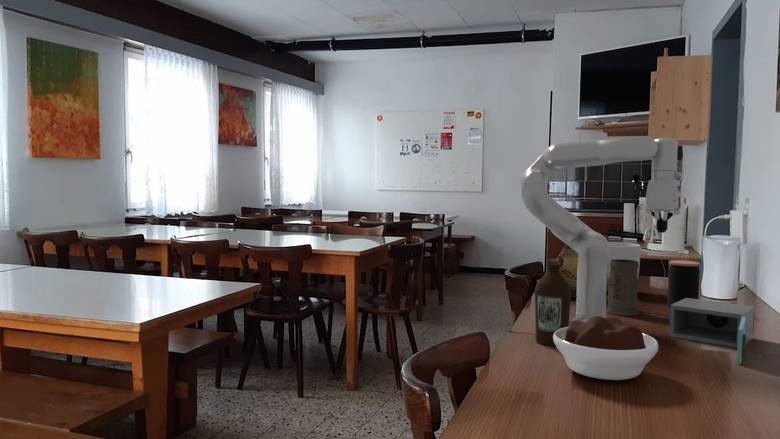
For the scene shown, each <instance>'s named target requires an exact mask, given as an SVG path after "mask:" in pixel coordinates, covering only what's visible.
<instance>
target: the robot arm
mask: <svg viewBox="0 0 780 439" xmlns="http://www.w3.org/2000/svg"><path fill="white" fill-rule="evenodd" d="M678 147H679V142H678V140H677V138H673V137H659V138H655V139H654V138H653V137H650V136H644V135H643V136H635V137H634V136H633V137H623V138H612V139H591V140H582V141H569V142H561V143H560V142H559V143H558V142H557V143H554V144H551V145H550V146H548V147H547V148H546V149H545V150H544V151H543V152H542V154H540V156H539V157H538V158H537V159H536V160H535V161H534V162H533V163H532V164H531V165H530V166H529V167H528V168H527V170H525V171H524V172H523V174H522V175H521V178H520V185H521V192H520V193H521V194H520V195H521V199H522V202H523V204H524V206H525V209H526V210H527V211H528V212H529V213H530V214H531V216H533V217H534V218H536V220H538V221H539V222H540V223H541V224H542V225H544V226H545V227H546V228H547V229H548V230H550V231H551V233H552V234H553V235H554V236H555V237H556V238H558V239H559V240H560V241H562V242H563V243H564V244H565V245H566V244H567V245H568V246H569V247H571V248H572V249H573V250H575V251H576V252H577V253H578V254H579V256H578V267H577V297H576V298H575V299H576V304H575V305H576V308H575V317H574V318H573V319H571V320H570V321H574V320H579V321H582V322H588V321H589V320H590V319H591V318H592V317H594V316H602V317H605V318H607V317H606V316H607V293H608V292H607V267H608V258H609V244H608V242H609V241H608V240H607V238H606V237H605V236H604V235H602V233H600V232H597V231H595V230H593V229H592V228H591V227H589V226H588V225H587V224H586V223H585V222H583V221H581V219H579V217H578V216H577V215H576V214H574V213H572V212H570V211H569V210H567V209H566V208H565V207H564V206H563V205H561V204H560V203H558V201H556V200H555V199H553V197H551V196H550V194H549V193H548V190H547V189H548V187H547V186H548V184H549V182H551V180H552V179H554V177H555V176H556V175H557V174H558V173H559V172H560V171H561V170H562V169H563V170H564V169H571V168H572V169H574V168H585V167H597V166H606V165H610V164H614V163H615V164H616V163H624V162H634V161H636V162H640V161H641V162H642V161H649V160H651V178H650V180H648V184H647V187H646V188H647V189H646V192H645V194H646V195H645V211H644V213H645V214H647V215H651V216H652V217H653V218H654V219H655V221H656V223H655V224H656V226H655V227H656V229H655V230H657V233H660V234H661V233H662V234H663V233H666V232H667V231H668V225H669V224H668V223H669V222H668V221H669V220H670V219H672V217H673V216H679V215H681V208H682V191H681V190H682V189H681V183H680V180H677V179H678V178H680V177H682V172H678V149H679V148H678ZM662 212H663V215H662Z"/></svg>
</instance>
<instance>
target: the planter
mask: <svg viewBox="0 0 780 439" xmlns="http://www.w3.org/2000/svg"><path fill="white" fill-rule="evenodd" d="M608 244H609V258H608V267H607V293H608V289H609V276H610V261H611V260H618V259H621V260H634V261H638V265H639V268H638V273H637V281H639V280H638V279H639V275H640V263H641V245H640V244H638V243H632V242H619V241H608Z"/></svg>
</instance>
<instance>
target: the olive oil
mask: <svg viewBox="0 0 780 439" xmlns="http://www.w3.org/2000/svg"><path fill="white" fill-rule="evenodd" d="M547 262H548V263H547V272H546V273H545V274H544V275H543V276H542V277H541V278H540V279H539V280H538V281H537V282H536V285H535V288H534V310H535V311H534V315H535V317H534V318H535V341H537V343H538V344H540V343H541V344H540V345H544V344H546V345H545V346H550V345H555V343H554V341H553V334H554V332H555V331H557V330H558V329H561V328H564V327H569V324H570V315H571V302H572V301H571V300H572V298H571V289H570V286H569V284H568V282H567V281H566V280H565V279H564V278H563V277H562V276H561V274H560V273H559V260H556V258H555V259H554V258H553V259H552V258H551V259H550V258H549V259H547Z"/></svg>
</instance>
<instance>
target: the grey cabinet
mask: <svg viewBox="0 0 780 439" xmlns="http://www.w3.org/2000/svg"><path fill="white" fill-rule="evenodd" d="M669 309H670V310H669V333H668V334H669V335H668V336H669V337H670V338H671V337H672V338H675V339H676V338H678V339H684V340H689V341H695V342H701V343H707V344H712V345H717V346H718V345H719V346H724V347H730V348H735V349H737V348H738V329H739V325H740V322H741V318H742V316H745V317H746V345H747V344H748V343H749V342H751V341H753V339H754V328H755V306H754V305H753V306H752V305H744V304H737V303H729V302H721V301H716V300H715V301H713V300H704V299H700V298H699V299H691V298H685V299H682V300H680V301H678V302H676V303H674V304H672V305H670V307H669Z"/></svg>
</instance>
